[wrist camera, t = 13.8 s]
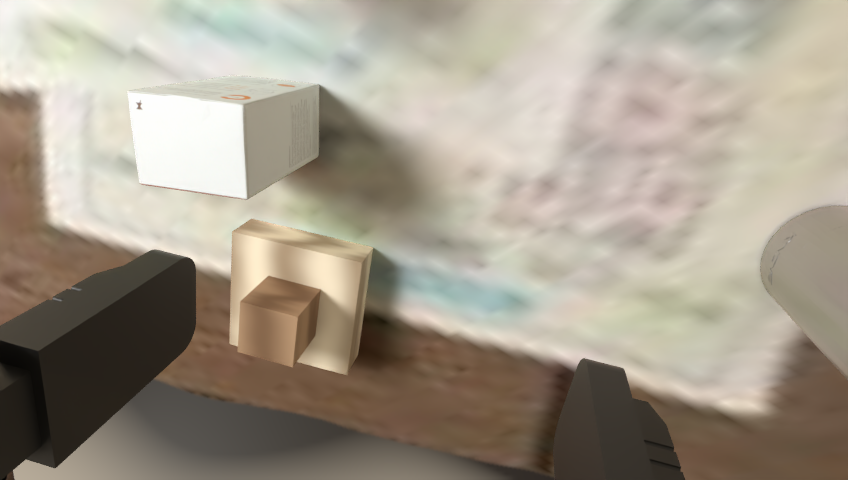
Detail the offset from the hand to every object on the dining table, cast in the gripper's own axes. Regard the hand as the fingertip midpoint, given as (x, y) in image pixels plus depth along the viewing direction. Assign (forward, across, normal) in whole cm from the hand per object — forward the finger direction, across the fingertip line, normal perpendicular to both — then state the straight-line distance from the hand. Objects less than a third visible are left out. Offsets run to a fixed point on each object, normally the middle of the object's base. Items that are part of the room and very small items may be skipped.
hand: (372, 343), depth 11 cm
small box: (+34, +18, +4) cm, 39 cm away
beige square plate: (+35, +14, +20) cm, 42 cm away
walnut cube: (+31, +14, +20) cm, 39 cm away
